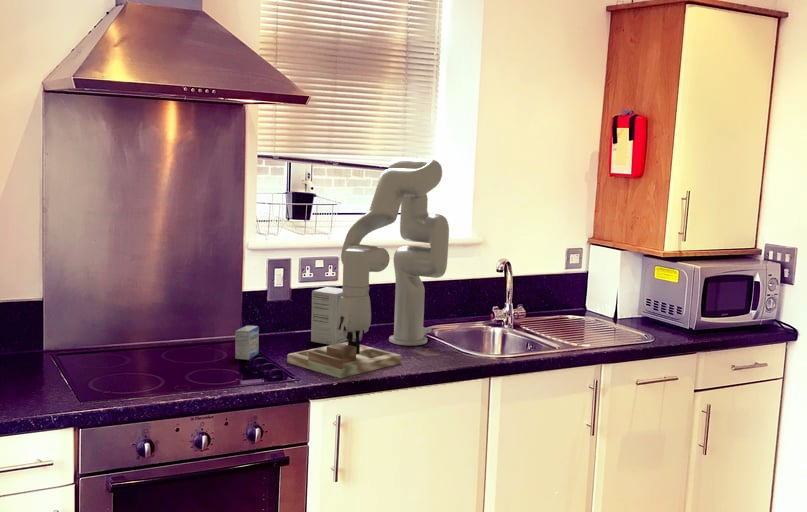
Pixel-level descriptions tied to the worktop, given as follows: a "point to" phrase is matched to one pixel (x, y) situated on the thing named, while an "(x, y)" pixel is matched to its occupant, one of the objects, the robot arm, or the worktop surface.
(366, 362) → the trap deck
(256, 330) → the medicine box
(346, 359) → the walnut block
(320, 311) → the supplement box
